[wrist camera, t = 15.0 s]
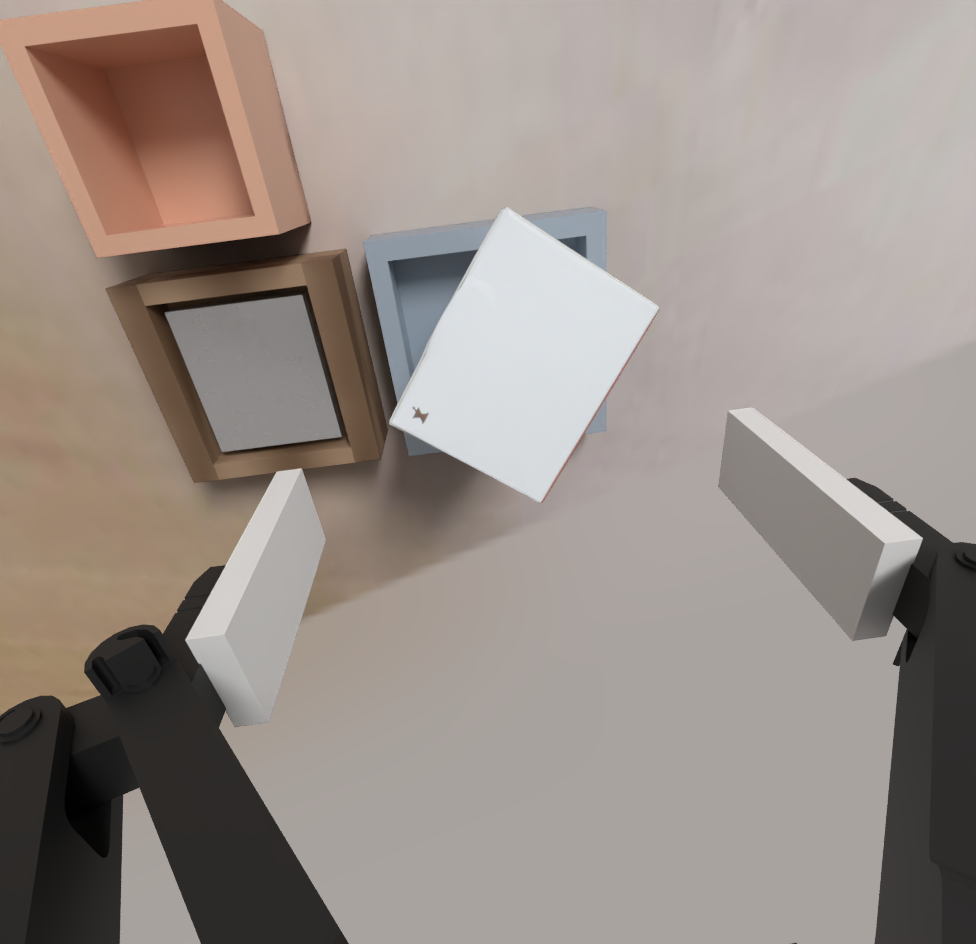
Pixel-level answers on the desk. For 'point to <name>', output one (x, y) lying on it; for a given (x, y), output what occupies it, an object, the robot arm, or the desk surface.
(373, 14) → the desk surface
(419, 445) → the tray
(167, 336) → the brown wooden square tray
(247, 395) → the plate
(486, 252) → the small box
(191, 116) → the pink open box
